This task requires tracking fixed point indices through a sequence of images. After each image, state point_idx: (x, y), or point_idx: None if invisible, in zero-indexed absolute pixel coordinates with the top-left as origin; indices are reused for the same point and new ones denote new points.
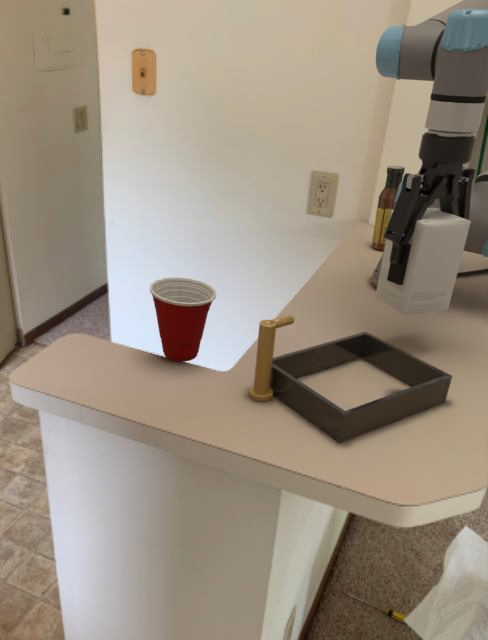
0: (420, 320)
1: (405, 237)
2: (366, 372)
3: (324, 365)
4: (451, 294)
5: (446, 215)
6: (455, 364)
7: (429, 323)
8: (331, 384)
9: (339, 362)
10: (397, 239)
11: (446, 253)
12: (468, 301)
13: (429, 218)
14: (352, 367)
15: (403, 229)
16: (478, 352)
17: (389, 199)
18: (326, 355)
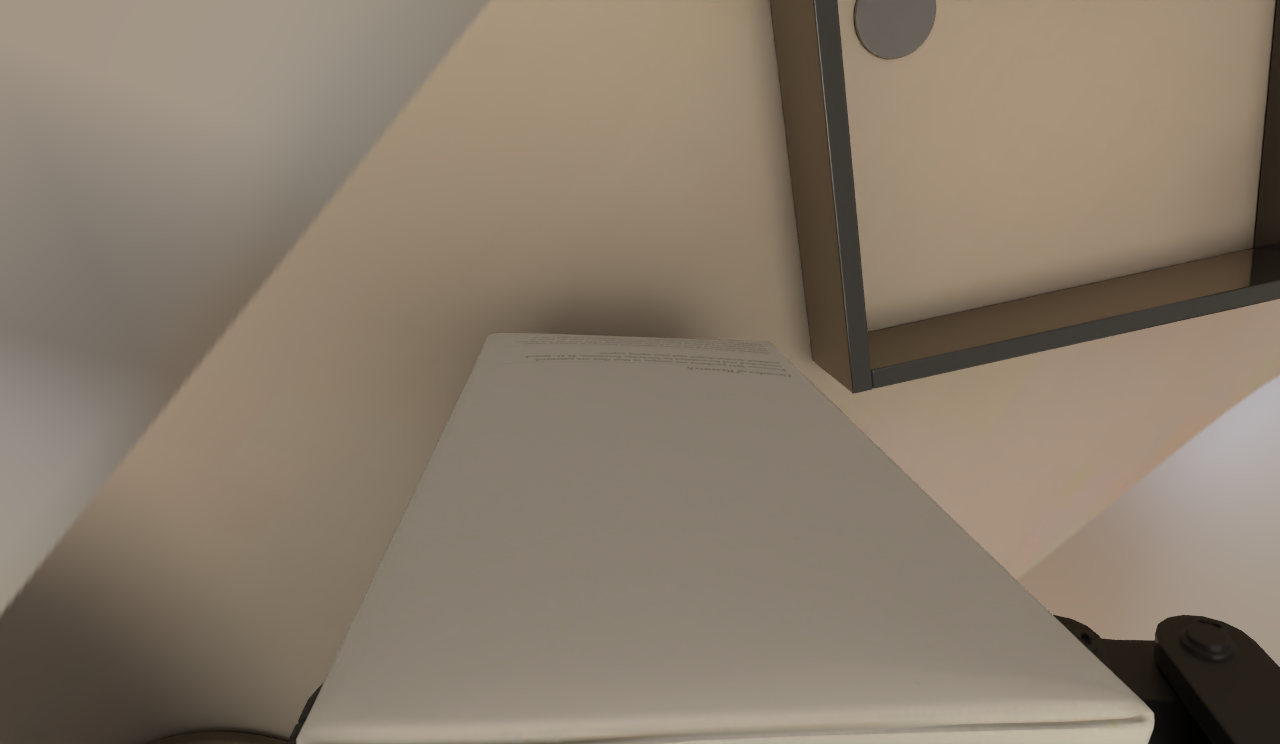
0: (380, 561)
1: (1109, 667)
2: (882, 234)
3: (1019, 305)
4: (482, 359)
5: None
6: (495, 177)
7: (358, 529)
8: (1056, 194)
9: (941, 319)
10: (1229, 632)
11: (627, 479)
12: (28, 676)
13: None
14: (903, 285)
15: (1255, 728)
16: (316, 240)
17: None
18: (1044, 314)
